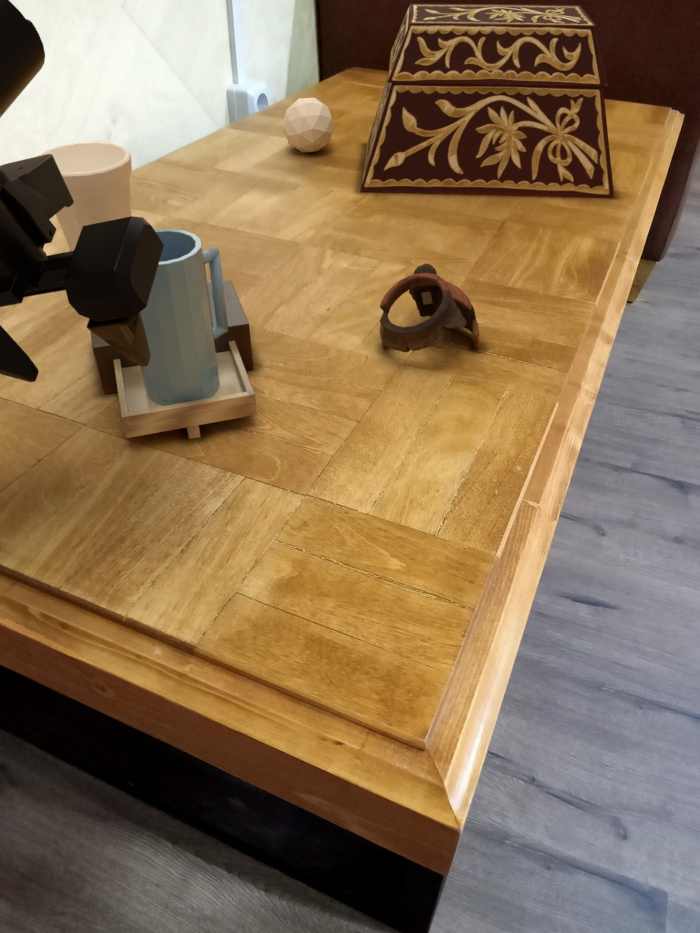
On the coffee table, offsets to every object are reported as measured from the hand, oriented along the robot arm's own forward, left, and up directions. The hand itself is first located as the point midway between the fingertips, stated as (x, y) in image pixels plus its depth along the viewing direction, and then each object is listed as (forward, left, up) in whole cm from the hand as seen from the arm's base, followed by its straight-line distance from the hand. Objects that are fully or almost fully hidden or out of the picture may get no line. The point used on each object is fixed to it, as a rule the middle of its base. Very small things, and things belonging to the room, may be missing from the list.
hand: (89, 369), depth 55 cm
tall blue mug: (+8, +9, -8) cm, 15 cm away
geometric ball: (+35, +71, -11) cm, 80 cm away
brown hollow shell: (+32, +13, -11) cm, 36 cm away
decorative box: (+57, +55, -11) cm, 80 cm away
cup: (+2, +38, -11) cm, 40 cm away
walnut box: (+7, +13, -11) cm, 18 cm away
